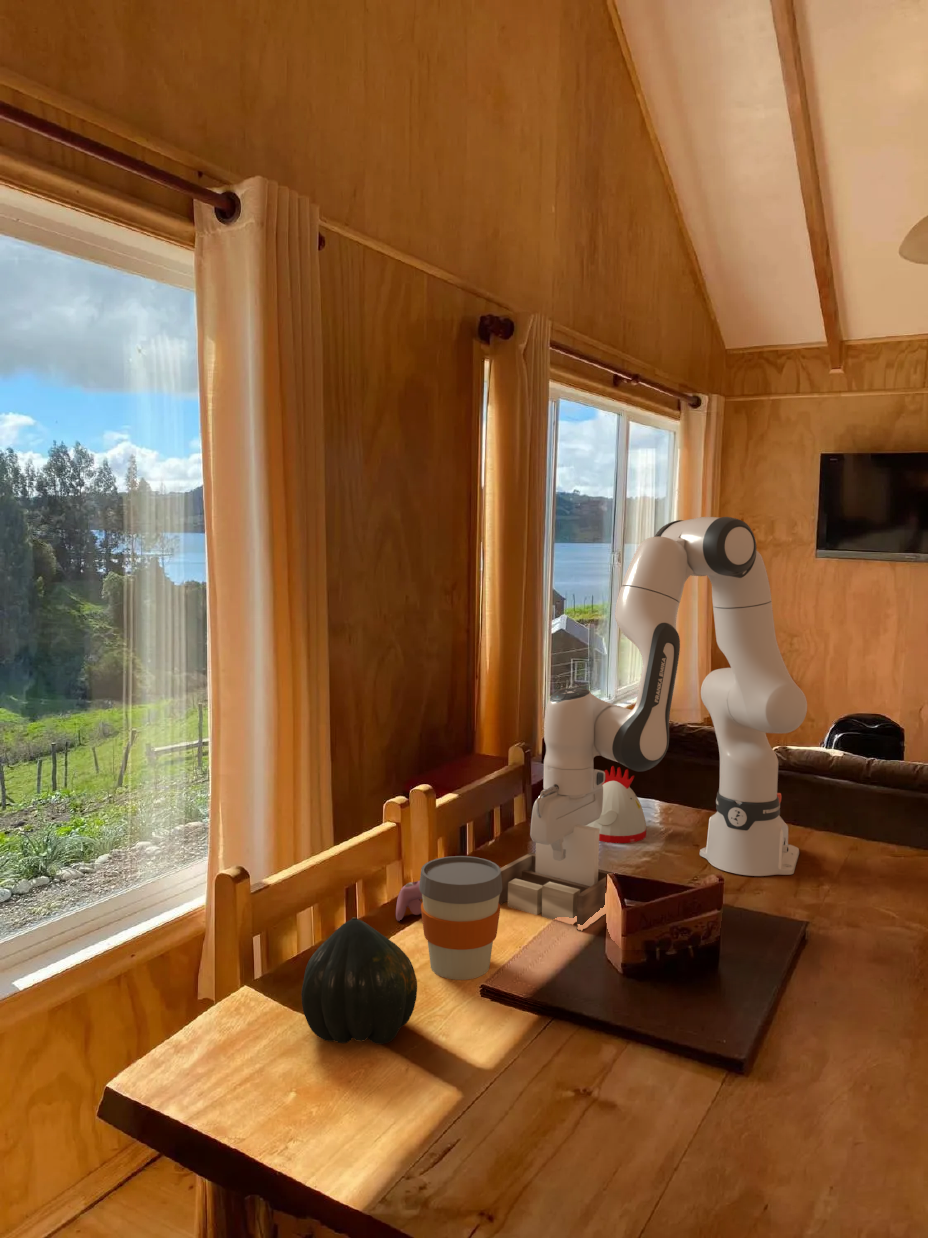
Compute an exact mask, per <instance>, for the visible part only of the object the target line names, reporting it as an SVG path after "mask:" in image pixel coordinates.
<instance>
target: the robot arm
mask: <svg viewBox="0 0 928 1238" xmlns="http://www.w3.org/2000/svg"><path fill="white" fill-rule="evenodd" d="M766 568H767V567H766V565H765V562H764V558H763V556H762V555H761V553H760V552H759V550H757V541H756V537H755V535H754V532H753V530H752V528H751V526H750V525H748V523H746V522H745V521H743V520H741V519H739V518H735V517H730V516H721V517H717V516H716V517H715V516H699V517H695V518H691V519H685V520H682V519H680V520H679V519H678V520H675V521H671V522H668V523H666V524H665V525H663V526H662V527H661V528H659V530H658V531H657V532H656V533H655V535H654V536H651V537H648V538H646V539H644V540H643V541H641V542H640V544H639V546H638V547H637V549H636V551H635V553H634V554H633V557H632V559H631V561H630V563H629V565H628V568H627V570H626V572H625V575H624V578H623V580H622V584H621V587H620V588H619V589H620V590H619V593H618V597H617V600H616V604H615V610H614V613H615V614H614V618H615V621H616V624H617V626H618V628H619V630H620V632H621V633H622V634H623V635H624V636H625V637H626V638H627V639H628V640H629V641H630V642H632V643H633V644H634V645H635V646H636V648H637V649H638V651H639V652H640V655H641V658H642V660H641V661H642V669H641V673H640V679H639V685H638V691H637V696H636V697H637V698H636V701H635V705H634V707H633V708H632V709H629V708H626V707H623V706H620V705H617V704H614V703H611V702H608V701H605V700H603V699H600V698H599V697H597V696H595V695H594V694H593V693H591V691H590V689H586V688H583V687H570V688H569V687H567V688H563V689H559V690H557V691H556V692H553V693H552V694H551V695H550V696H549V698H548V701H547V704H546V708H545V714H544V715H545V716H544V727H543V728H544V730H543V731H544V733H543V736H544V737H543V739H544V743H545V755H544V759H543V778H542V779H543V781H542V782H543V785H542V787H543V789H542V790H541V791H540V795H538V798H536V799H535V801H534V803H533V806H532V811H531V821H530V822H531V823H530V833H529V835H530V838H531V840H532V842H534V843H535V844H536V843H540V844H545V845H549V844H551V847H552V849H553V858H554V860H558V861H561V860H563V859H565V857H566V855H565V854H566V849H563V845H562V842H564V837H565V836H567V835H569V834H571V833H573V832H574V826H576V825H578V824H580V825H584V826H586V825H588V824H590V823H592V822H594V821H596V820H598V819H599V818H600V815H601V813H602V807H603V785H602V783H604V782H605V780H606V777H605V772H604V771H605V770H601V769H595V768H594V758H595V757H598V756H601V757H603V758H605V759H607V760H611V761H613V762H617V763H619V764H620V765H623V766H624V767H626V768H627V769H630V770H632V771H635V772H646V771H649V770H651V769H653V768H654V767H656V766H657V765H658V764H659V763H660V762H661V761H662V760H663V758H664V757H665V755H666V753H667V751H668V749H669V743H670V715H671V709H672V708H671V707H672V701H673V696H674V689H675V685H676V684H675V683H676V680H677V679H676V678H677V673H678V666H679V665H678V664H679V657H680V652H681V651H680V648H681V640H680V635H679V633H678V631H677V617H678V616H677V615H678V611H679V607H680V603H681V600H682V596H683V592H684V588H685V583H686V582H687V581H688V579H689V578H690V576H691V577H692V576H694V577H706V576H707V578H708V579H709V582H710V585H711V601H712V609H713V610H712V613H713V620H714V629H715V638H716V639H715V640H716V644H717V647H718V648H719V650H720V651H721V652H722V653H723V655H724V656H725V658H726V660H727V662H728V664H729V666H730V667H723V668H722V667H721V668H718V669H714V670H712V671H710V672H709V673H708V674H707V675H706V676H705V678H704V679H703V680H702V682H701V683H702V684H701V688H700V698H701V701H702V703H703V705H704V707H705V708H706V710H707V711H708V714H709V715H710V717H711V718H710V719H711V721H712V725H713V727H714V733H715V737H716V740H717V745H718V752H719V753H718V754H719V788H718V791H717V793H716V799H715V806H716V807H715V809H716V812H715V813H714V814H712V815H711V816H710V817H709V819H708V827H707V828H708V829H707V839H706V846H705V847H703V848H701V849H699V856H700V857H702V858H704V859H706V860H707V861H708V863H710V864H711V866H713V867H715V868H716V869H719V870H721V871H725V872H728V873H731V874H736V875H740V876H741V875H743V876H752V877H753V876H754V877H764V876H765V877H767V876H774V875H783V876H784V875H785V876H786V875H793V874H794V873H795V869H796V865H797V862H798V859H799V855H800V850H799V849H800V848H799V847H797V846H795V845H793V844H789V826H788V824H786V822H785V821H784V819H783V818H782V817H781V816H780V815H781V809H780V808H781V802H782V799H783V797H782V793H781V792H778V781H779V780H778V779H779V759H778V756H777V754H776V752H775V751H774V750H773V748H772V746H771V744H770V743H769V740H768V737H767V734H789V733H791V732H794V731H796V730H797V729H798V728H799V727H800V726H801V725H802V724H803V723H804V721H805V718H806V716H807V712H808V702H807V697H806V695H805V693H804V692H803V690H802V689H801V688H800V686H798V684H796V682H795V680H794V679H793V677H792V676H791V674H790V673H789V669H788V668H787V666H786V664H785V661H784V659H783V655H782V652H781V650H780V647H779V645H778V641H777V636H776V628H775V620H774V612H773V611H774V610H773V602H772V592H771V586H770V581H769V577H768V573H767V569H766Z"/></svg>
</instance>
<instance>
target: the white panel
mask: <svg viewBox="0 0 928 1238" xmlns="http://www.w3.org/2000/svg"><path fill="white" fill-rule="evenodd" d="M562 845H563V849H566V854H565V855H566V857H565V859H563V860H561V861H558V860H554V858H553V849H552V847H551V844H549V845H545V844H540V843H536V842H535V854H536V861H535V872H536V873H540V874H544V875H548V876H552V877H556V878H560V879H564V880H567V881H571V882H575V883H579V884H583V885H587V886H592V885H594V884H595V883H597V882H598V869H599V864H600V862H599V860H600V857H599V856H600V853H599V852H600V841H599V829H598V828H594V827H589V826H584V825H580V824H578V825H576V826H574V832H573V833H571V834H569V835H567V836H565V837H564V842H562Z"/></svg>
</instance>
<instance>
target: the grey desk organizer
mask: <svg viewBox="0 0 928 1238" xmlns="http://www.w3.org/2000/svg"><path fill="white" fill-rule="evenodd" d="M535 861H536V852H529V853H527V854H525V855H523V856H521V857H519V858H517V859H515V860H514V861H512V862H510V863H508V864H506V865H504V866H502V867H500V870H501V878H502V888H503V889H502V892H501V893H500V895H499V902H498V903H499V904H500V905H502V904H504V903H506V902H508V882H510V881H511V880H513V879H515V878H516V879H520V880H523V881H527V882H531V883H535V884H539V885H542V886H543V885H545V884H546V883H548V882H553V883H557V884H561V885H565V886H568V887H572V888H576V889H580V894H578V895H577V923H576V925H577V924H580V925H583V924H584V923H585V922H586V921H587V920H588V919H589V918H590V917H592V916H593V915H594V914H595V913H596V912H598V911H599V910H600V908H603V907H604V905H605V893H606V888H605V886H606V875H607V874H608V873H615V874H618V875H619V873H618V872H612V871H608V870H603V869H600V868H598V882H597V883H595V884H594V885H592V886H587V885H583V884H579V883H575V882H571V881H567V880H564V879H560V878H556V877H552V876H548V875H544V874H540V873H536V872H535Z"/></svg>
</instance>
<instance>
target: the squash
mask: <svg viewBox="0 0 928 1238" xmlns="http://www.w3.org/2000/svg"><path fill="white" fill-rule="evenodd" d="M303 976H304V977H303V982H302V987H301V993H300V994H301V1006H302V1011H303V1015H304V1018H305V1021H306V1022H307V1024H308V1027H309V1029H310V1030H311V1032H312V1033H314V1035H315V1036H317V1038H320V1039H321V1040H324V1041H328V1042H337V1043H340V1044H346V1043H348V1042H350V1041H351V1040H352V1039H353V1040H355V1041H357V1042H363V1041H366V1040H369V1042H371V1043H373V1044H378V1045H383V1044H387V1043H390V1042H392V1041H393V1040H394V1039H395V1038H396V1036H397V1035H398V1033H399V1031H400V1029H401V1028H402V1027H404V1026H405V1025H406V1024H407V1023H408V1022H409V1021H410V1019H411V1017H412V1015H413V1012H414V1010H415V1005H416V1001H417V993H418V980H417V976H416V972H415V968H414V966H413V964H412V961H411V959H410V958H409V957H408V955H407V954H406V953H405V952H404V951H403V949H402V948H401V947H399V946H398V944H396V943H395V942H393V941H392V940H391V939H389V938H388V937H386V936H385V935H383V934H382V933H381V932H379V931H378V930H376V929H375V928H374V927H372V926H370V925H369V924H368V923H366V922H364V921H363V920H361V919H358V917H354V916H353V917H351V919H349V920H348V921H345V922H344V923H343V924H341V926H340V927H339V928H337V929H336V930H335V931H334V932H333V933H332V934H331V935H330V936H329V937H328V938H327V939H326V940H325V941H323V942H322V944H321V945H319V946H318V948H317V949H316V951H314V953H313V954H312V955H311V957H310V958H309V960H308V962H307V964H306V966H305V971H304V975H303Z"/></svg>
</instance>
